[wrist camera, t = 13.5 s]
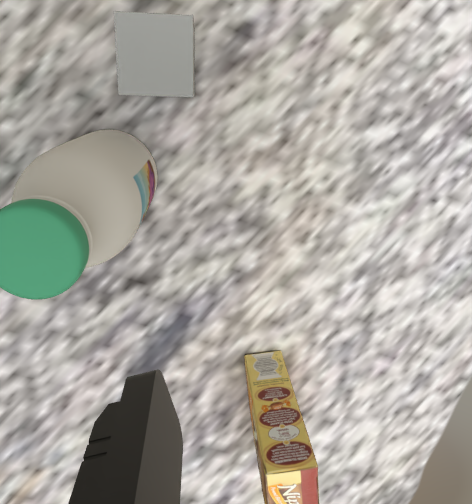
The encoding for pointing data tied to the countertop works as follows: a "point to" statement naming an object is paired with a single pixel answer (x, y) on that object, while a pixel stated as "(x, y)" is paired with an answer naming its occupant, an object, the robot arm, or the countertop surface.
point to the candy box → (279, 433)
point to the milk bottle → (74, 211)
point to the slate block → (155, 54)
